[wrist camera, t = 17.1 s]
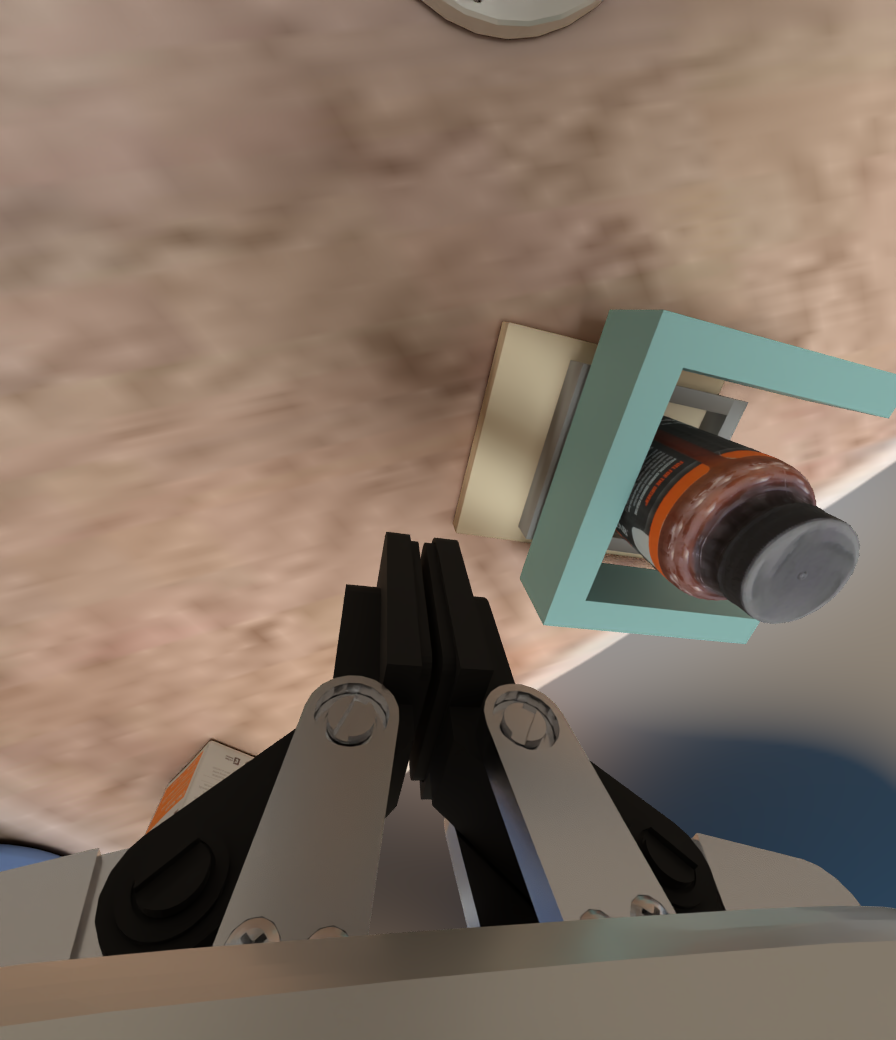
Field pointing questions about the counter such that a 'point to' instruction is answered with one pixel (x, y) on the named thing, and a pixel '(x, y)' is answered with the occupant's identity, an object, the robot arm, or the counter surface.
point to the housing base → (550, 430)
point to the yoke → (623, 448)
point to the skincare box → (198, 779)
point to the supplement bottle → (735, 526)
